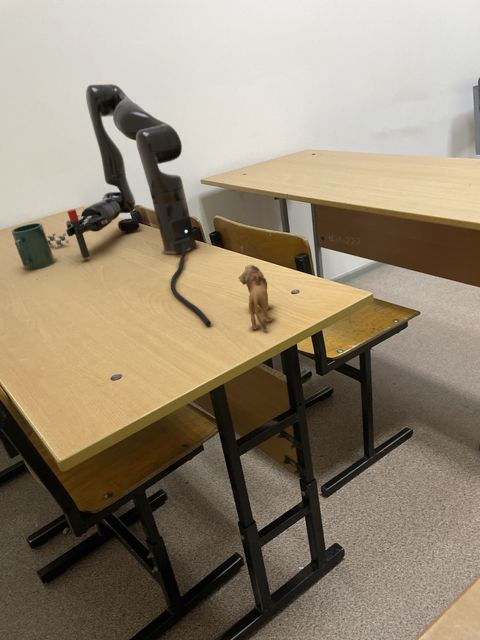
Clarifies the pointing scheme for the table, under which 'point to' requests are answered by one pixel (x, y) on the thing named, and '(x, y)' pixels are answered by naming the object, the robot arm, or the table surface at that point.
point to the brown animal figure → (256, 293)
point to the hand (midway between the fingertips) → (72, 232)
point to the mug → (33, 246)
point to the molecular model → (57, 240)
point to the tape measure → (128, 225)
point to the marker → (80, 238)
